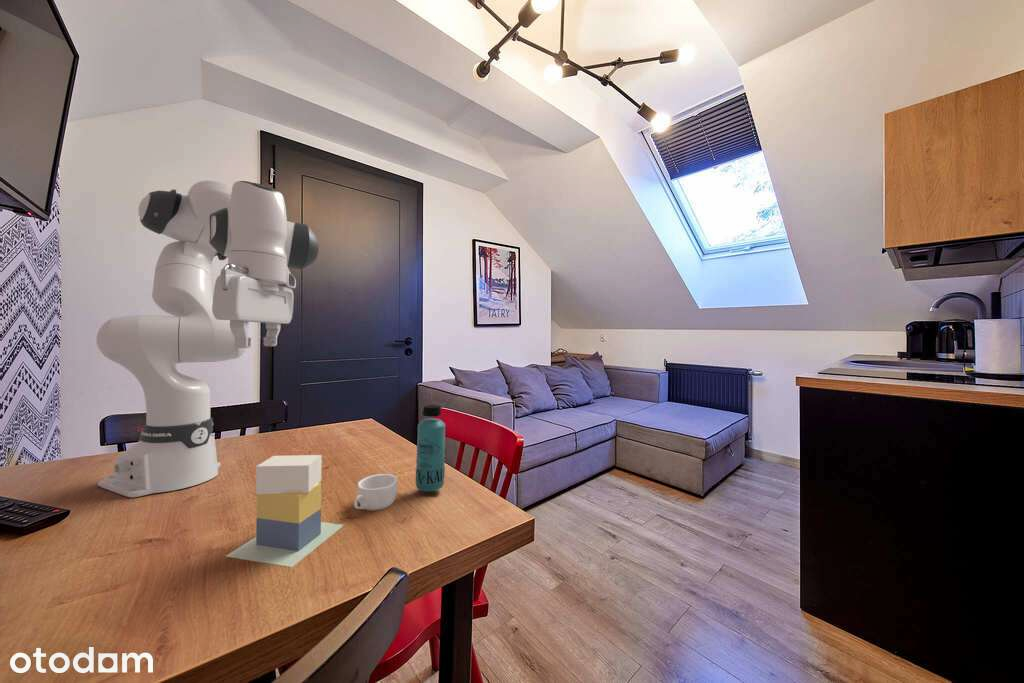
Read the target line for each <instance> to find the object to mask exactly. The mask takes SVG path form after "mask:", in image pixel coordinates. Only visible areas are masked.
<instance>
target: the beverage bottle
mask: <svg viewBox="0 0 1024 683" xmlns="http://www.w3.org/2000/svg"><path fill="white" fill-rule="evenodd" d="M441 415H442V406H441V405H439V404H426V405H424V406H423V412H422V416H425V417H431V418H424V419H422V420H420V422H419V423H418V424H417V441H416V442H417V444H416V454H415V456H416V457H415V458H416V460H415V461H416V466H415V486H416V489H417V490H419V491H422V492H433V491H434V492H435V491H437V490H440V489H441V488H442V487H443V486H444V484H445V482H444V481H445V474H446V471H445V470H446V465H445V458H446V456H445V455H446V450H445V447H446V446H445V445H446V443H445V442H446V440H445V439H446V423H445V422H444V421H443V420H442V419H440V418H432V417H439V416H441Z"/></svg>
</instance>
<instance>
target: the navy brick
mask: <svg viewBox="0 0 1024 683" xmlns="http://www.w3.org/2000/svg"><path fill="white" fill-rule="evenodd" d="M321 522H322V508H321V509H320V510H318V511H317V512H315V513H314V514H312V515H311V516H309V517H308V518H306V519H305V520H303V521H302V522H301V523H299V524H298V523H291V522H284V521H276V520H269V519H262V518H257V517H256V525H255V526H256V527H255V528H256V529H255V530H256V532H255V533H256V534H255V535H256V536H255V537H256V545H261V546H268V547H274V548H281V549H287V550H294V551H299V550H301V549H302V548H303V547H305V546H306V545H307V544H309V543H310V542H311V541H312V540H314V539H315V538H316V537H318V536H319V535H320V534H321Z"/></svg>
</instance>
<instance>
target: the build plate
mask: <svg viewBox="0 0 1024 683" xmlns="http://www.w3.org/2000/svg"><path fill="white" fill-rule="evenodd" d="M344 526H345V525H344V524H340V523H339V524H338V523H332V522H324V521H321V534H320V535H319V536H318V537H316V538H315V539H314V540H312V541H311V542H310V543H309V544H307V545H306V546H305V547H303V548H302V549H301V550H299V551H294V550H287V549H281V548H274V547H268V546H261V545H256V536H255V537H254V538H252V539H250V540H249V541H247V542H246V543H243V545H241V546H239V547H237V548H236V549H234V550H233V551H231V552H229V553H228V554H226V555H225V557H226V558H227V557H228V558H233V559H238V560H239V559H240V560H245V561H251V562H257V563H263V564H268V565H274V566H282V567H286V568H293V567H294V566H295V565H297V564H298V563H299V562H300V561H302V560H303V559H304V558H305V557H307V556H308V555H309V554H310V553H312V552H313V551H314V550H315V549H317V548H318V547H319V546H320V545H322V544H323V543H325V541H326V540H328V539H329V538H330V537H331V536H333V535H334V534H335V533H337V532H338V531H339V530H340V529H342V528H343V527H344Z"/></svg>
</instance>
